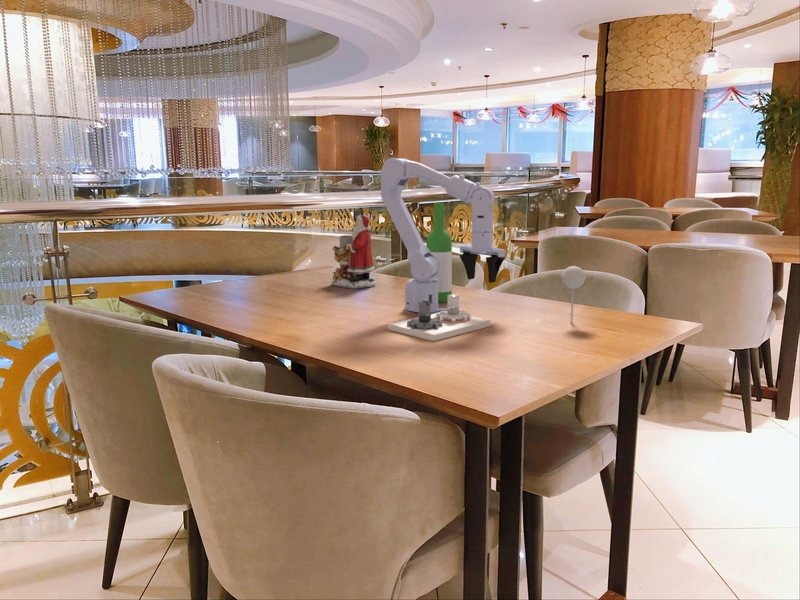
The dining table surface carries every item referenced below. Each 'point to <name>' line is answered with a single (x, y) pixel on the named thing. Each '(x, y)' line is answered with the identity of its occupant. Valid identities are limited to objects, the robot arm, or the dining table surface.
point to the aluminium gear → (453, 311)
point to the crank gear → (425, 317)
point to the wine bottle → (441, 253)
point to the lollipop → (573, 280)
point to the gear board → (441, 328)
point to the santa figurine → (354, 257)
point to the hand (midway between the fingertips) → (481, 280)
